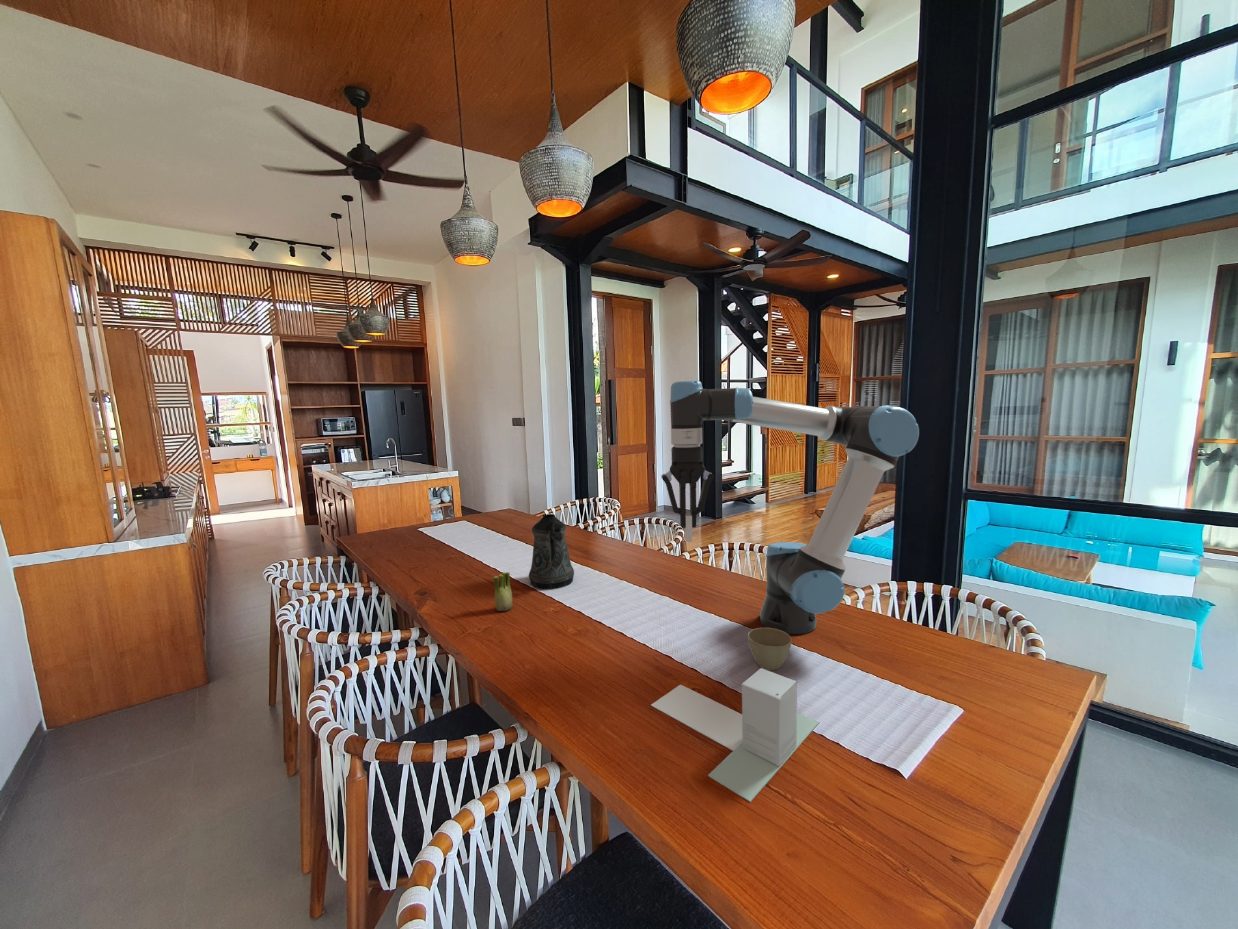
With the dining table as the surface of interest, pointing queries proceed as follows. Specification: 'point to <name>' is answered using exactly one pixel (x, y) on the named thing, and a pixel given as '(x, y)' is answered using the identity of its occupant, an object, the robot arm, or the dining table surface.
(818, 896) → the dining table surface
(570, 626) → the dining table surface
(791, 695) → the supplement box
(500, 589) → the fennel bulb
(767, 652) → the flower pot
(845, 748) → the dining table surface
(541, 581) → the beer stein
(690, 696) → the t mat
